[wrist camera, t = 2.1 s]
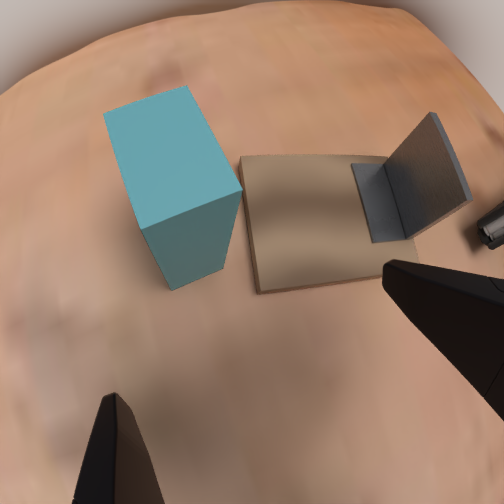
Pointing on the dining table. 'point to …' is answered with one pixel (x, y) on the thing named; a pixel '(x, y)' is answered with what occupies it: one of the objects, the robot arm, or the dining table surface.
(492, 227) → the magazine
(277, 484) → the dining table surface
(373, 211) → the bookend
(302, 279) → the shelf board
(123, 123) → the teal rectangular block
